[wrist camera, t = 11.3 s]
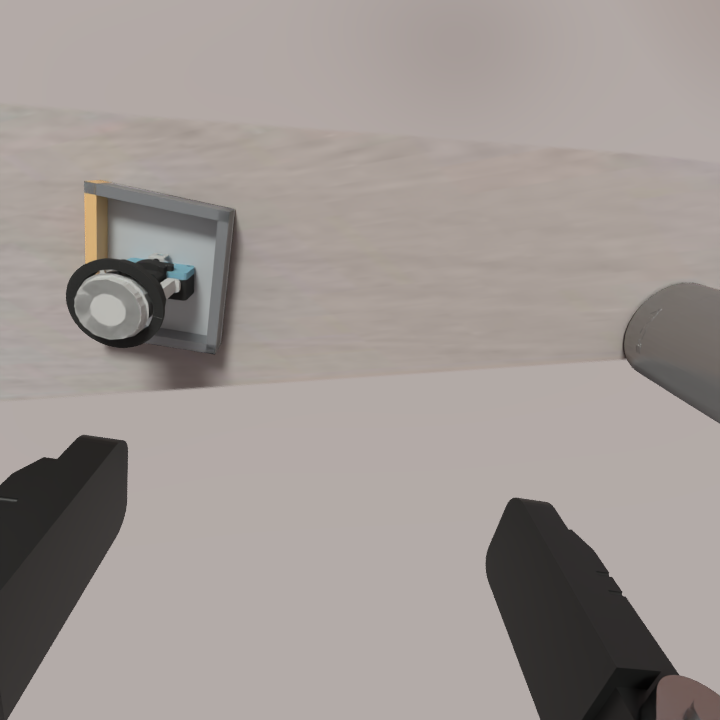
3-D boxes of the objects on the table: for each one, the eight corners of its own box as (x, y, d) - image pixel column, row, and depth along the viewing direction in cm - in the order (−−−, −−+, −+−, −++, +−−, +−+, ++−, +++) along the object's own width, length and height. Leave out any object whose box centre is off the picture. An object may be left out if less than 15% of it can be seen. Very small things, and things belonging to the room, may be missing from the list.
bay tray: (235, 209, 33) (229, 212, 31) (220, 343, 37) (214, 354, 35) (100, 180, 32) (84, 181, 30) (100, 323, 36) (86, 333, 34)
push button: (110, 299, 34) (36, 345, 25) (106, 229, 32) (24, 252, 23) (198, 310, 35) (158, 358, 26) (200, 243, 33) (157, 270, 24)
